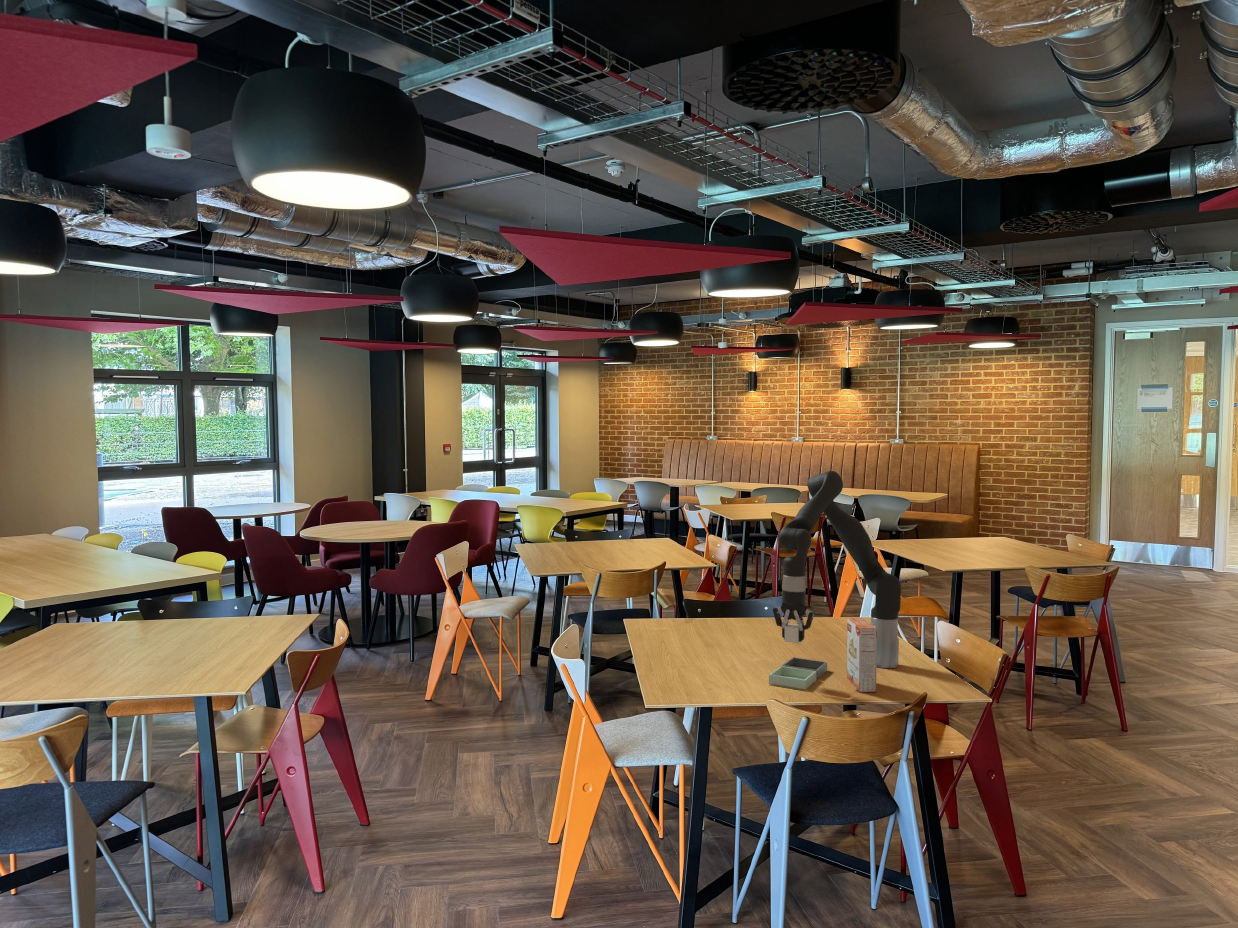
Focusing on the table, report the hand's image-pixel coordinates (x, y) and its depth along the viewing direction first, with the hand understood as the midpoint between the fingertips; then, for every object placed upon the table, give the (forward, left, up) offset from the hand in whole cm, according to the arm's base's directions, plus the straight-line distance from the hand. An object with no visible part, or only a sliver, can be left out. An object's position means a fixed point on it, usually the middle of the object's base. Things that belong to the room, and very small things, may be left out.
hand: (793, 639), depth 259 cm
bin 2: (0, -13, -14) cm, 19 cm away
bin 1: (0, 0, -14) cm, 14 cm away
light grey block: (0, 0, 0) cm, 0 cm away
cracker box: (-20, -9, -15) cm, 26 cm away
